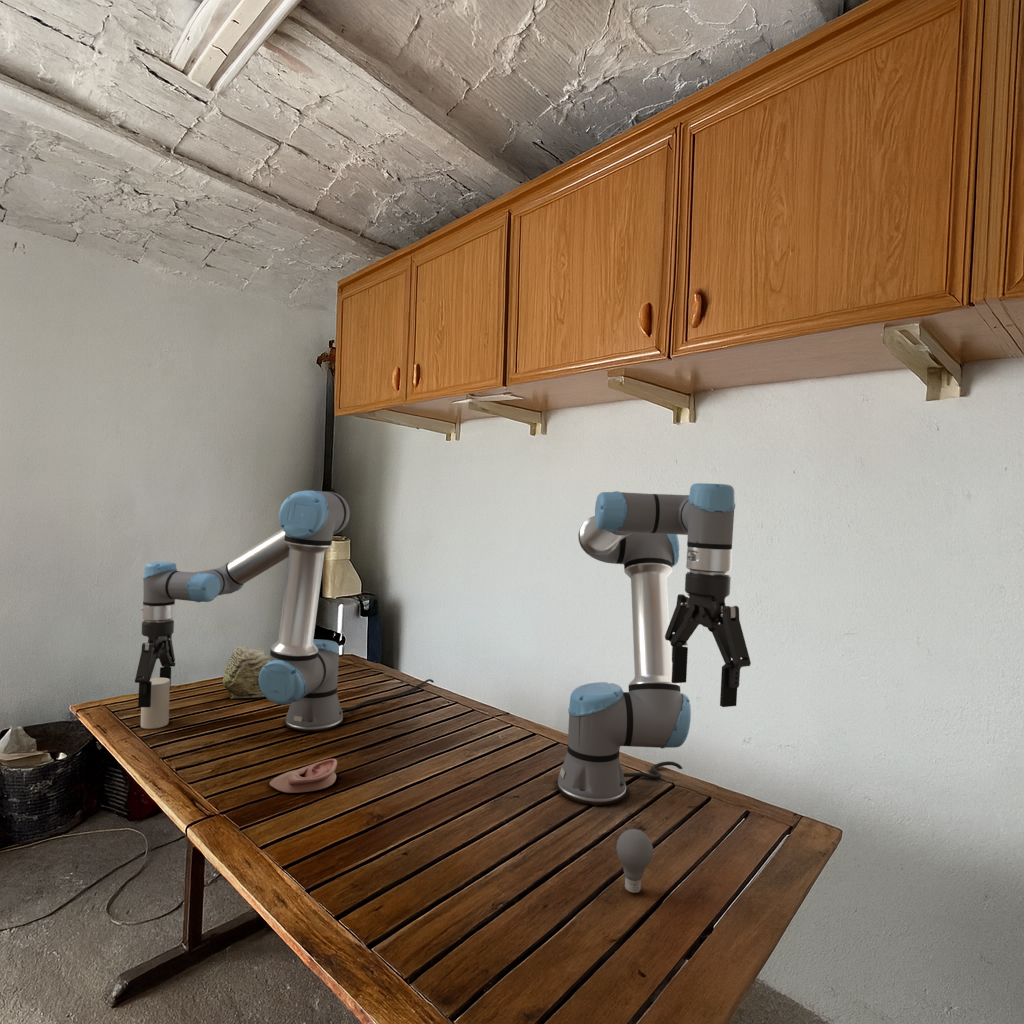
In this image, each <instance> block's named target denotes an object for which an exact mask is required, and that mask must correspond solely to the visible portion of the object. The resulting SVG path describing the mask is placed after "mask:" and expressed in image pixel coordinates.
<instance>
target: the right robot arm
mask: <svg viewBox="0 0 1024 1024" xmlns="http://www.w3.org/2000/svg"><path fill="white" fill-rule="evenodd" d="M735 502H736V501H735V489H734V487H733V485H730V484H726V483H703V482H701V483H700V482H699V483H697V482H696V483H693V484H692V485H691V486H690V488H689V494H670V493H669V494H666V493H643V492H641V493H640V492H623V491H618V490H615V491H603V492H600V493H599V494H598V495H597V496H596V500H595V504H594V505H595V506H594V515H593V516H591V517H589V518H587V519H585V521H583V523H582V525H581V526H580V528H579V531H578V534H577V536H578V538H577V539H578V543H579V545H580V548H581V549H582V551H584V553H585V554H586V555H588V556H589V557H590V558H592V559H594V560H596V561H599V562H602V563H607V564H611V565H612V564H614V565H623V569H624V570H623V571H624V574H625V575H626V576H627V577H628V578H629V579H630V589H631V592H630V593H631V613H632V614H631V616H632V617H631V619H632V640H633V641H632V642H633V662H634V663H633V667H634V669H633V670H634V678H633V679H632V680H631V681H630V682H629V683H628V691H624V690H623V688H622V686H620V685H619V684H616V683H613V682H611V683H610V682H601V681H599V682H591V683H590V682H589V683H585V684H581V685H580V686H577V687H576V688H574V689H573V690H572V692H571V693H570V696H569V704H568V709H567V711H568V729H567V730H568V731H567V750H566V754H565V758H564V761H563V763H562V765H561V768H560V771H559V774H558V777H557V790H558V792H559V793H560V794H561V795H562V796H564V797H565V798H566V799H568V800H571V801H573V802H576V803H579V804H582V805H588V806H589V805H590V806H608V805H609V806H610V805H613V804H617V803H619V802H622V800H624V798H625V797H626V795H627V784H626V778H636V777H639V778H640V777H643V778H647V779H652V780H660V779H661V777H662V774H661V773H660V771H658V770H657V769H658V768H662V767H664V766H673V767H676V768H677V769H679V770H683V769H684V768H683V767H682V765H681V764H679V763H678V762H675V761H667V760H666V761H661V762H658V763H655V764H653V765H652V766H651V767H650V770H651V772H652V773H653V774H650V773H646V772H624V771H623V768H622V767H623V766H622V764H621V759H620V748H621V747H631V748H632V747H633V748H634V747H635V748H659V749H662V750H663V749H665V748H667V749H670V748H671V749H673V748H674V749H675V748H679V747H681V746H683V745H684V743H685V742H686V740H687V738H688V735H689V732H690V727H691V721H692V720H691V719H692V706H691V702H690V697H689V696H688V695H687V694H685V693H682V692H681V685H680V684H683V683H685V684H686V683H687V675H688V673H687V672H688V655H689V654H688V653H689V647H688V645H689V644H688V640H690V638H691V636H692V635H693V634H694V632H695V631H696V630H697V628H698V627H699V625H701V626H702V627H704V628H707V630H708V631H709V632H710V633H711V634H712V636H713V638H714V641H715V643H716V646H717V648H718V650H719V652H720V655H721V657H722V660H723V662H724V664H723V665H722V666H721V676H720V677H721V678H720V697H719V706H720V707H722V708H729V707H737V703H738V700H737V699H738V688H739V686H740V677H741V668H745V667H750V666H751V665H752V662H751V658H750V654H749V651H748V650H749V649H748V647H747V644H746V640H745V636H744V632H743V629H742V628H743V627H742V624H741V621H740V607H739V606H738V605H726V598H727V597H729V596H730V595H731V576H730V574H728V573H731V571H732V566H733V565H732V563H733V538H734V520H735V509H736V503H735ZM678 535H680V536H681V535H683V536H687V539H686V541H687V542H686V546H687V549H686V565H685V568H686V569H687V570H689V571H687V572H686V573H685V576H684V577H685V578H684V580H685V581H684V592H685V593H678V594H677V597H676V605H675V608H674V611H673V613H672V616H671V619H670V610H669V594H668V581H667V578H668V577H669V576H670V575H671V574H672V573H673V567H675V566H677V564H678V563H679V560H680V552H679V551H680V540H679V536H678Z"/></svg>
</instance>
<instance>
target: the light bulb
mask: <svg viewBox="0 0 1024 1024" xmlns="http://www.w3.org/2000/svg"><path fill="white" fill-rule="evenodd" d="M615 849H616V854H617V857H618V859H619V861H620V863H621V865H622V867H623V873H624V874H623V875H624V876H625V878H624V888H625V890H627V891H628V892H630V893H634V894H635V893H639V892H640V891H641V889H642V887H641V886H642V879H643V877H644V875H645V871H646V868H647V867H648V866H649V864H650V863H651V861H652V859H653V855H654V847H653V843H652V841H651V838H649V836H648V835H647V834H646V833H645V832H643V831H642V830H641V829H636V828H629V829H627V830H625V831H623V832H622V833H621V834H620V835H619V837H618V839H617V841H616V847H615Z"/></svg>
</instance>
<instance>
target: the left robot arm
mask: <svg viewBox="0 0 1024 1024" xmlns="http://www.w3.org/2000/svg"><path fill="white" fill-rule="evenodd" d="M350 515H351V511H350V507H349V505H348V503H347V501H346V499H345V498H344V497H343V496H341V494H338V493H336V492H334V491H325V490H324V491H320V490H313V489H312V490H309V489H306V490H301V491H296V492H294V493H291V494H290V495H289V496H287V498H285V499H284V501H283V502H282V504H281V505H280V508H279V511H278V522H279V525H280V527H281V529H280V530H278V531H276V532H275V533H273V534H272V535H270V536H268V537H267V538H265V539H263V540H262V541H260V542H258V543H257V544H255V545H254V546H252V547H250V548H249V549H247V550H245V551H244V552H242V553H240V554H239V555H237V556H236V557H234V558H232V559H231V560H229V561H228V562H226V563H224V564H223V565H221V566H220V567H218V568H213V569H211V568H210V569H207V570H206V569H205V570H199V571H180V570H178V568H177V564H176V563H175V562H171V561H152V562H148V563H146V564H145V566H144V572H143V578H142V580H143V583H142V585H143V588H142V589H143V591H142V592H143V594H142V595H143V599H142V606H141V608H140V610H141V611H142V620H143V621H142V622H141V635H142V636H143V637H147V638H148V639H147V642H142V643H141V650H140V651H141V652H140V655H139V656H140V657H139V661H138V665H137V670H136V674H135V678H134V683H136V684H137V683H138V700H137V704H138V705H137V707H138V708H141V707H150V706H151V685H152V681H150V679H151V678H152V675H153V672H154V669H155V667H156V663H157V660H158V659H159V662H160V665H161V667H160V668H159V678H168V679H170V691H171V689H172V687H171V686H172V668H173V667H176V657H175V652H174V646H173V634H174V631H175V630H174V629H175V621H174V618H175V614H176V613H175V611H176V610H175V609H176V600H179V601H189V602H196V603H209V602H213V601H214V600H215V599H216V598H217V597H218V596H222V595H229V594H230V595H231V594H233V593H235V592H238V591H239V590H241V589H242V588H243V586H244V585H245V584H246V583H248V582H249V581H251V580H252V579H254V578H256V577H257V576H259V575H261V574H262V573H264V572H266V571H268V570H269V569H270V568H272V567H274V566H276V565H278V564H280V563H281V562H283V561H285V560H286V559H287V567H286V573H285V583H284V591H283V599H282V606H281V614H280V622H279V630H278V639H277V641H276V642H274V643H273V644H272V645H271V646H270V651H269V658H270V659H269V662H268V663H267V664H266V665H265V666H264V667H263V668H262V669H261V671H260V674H259V686H260V689H261V691H262V693H263V694H264V695H265V699H267V700H268V701H270V702H271V703H273V704H275V705H281V706H286V705H289V708H288V711H287V713H286V715H285V726H286V728H287V729H289V730H291V731H294V732H295V731H296V732H301V733H316V732H325V731H329V730H332V729H335V728H337V727H339V726H340V725H342V723H343V722H344V714H343V711H351V710H355V709H357V708H360V707H361V706H363V705H365V704H368V703H371V702H376V701H381V700H382V701H383V700H387V699H390V698H391V699H392V698H395V697H398V696H402V695H405V694H409V693H410V692H413V691H414V690H416V689H417V688H419V687H421V686H423V685H425V684H426V683H428V682H430V683H435V680H433V679H432V678H428V679H425V680H424V681H423V682H420V683H419V684H417V685H415V686H413V687H412V688H409V689H407V690H404V691H401V692H398V693H394V694H390V695H386V696H380V697H375V698H374V697H373V698H371V699H367V700H363V701H361V702H360V703H358V704H356V705H354V706H350V707H342V706H341V702H340V699H339V695H338V682H339V681H338V680H339V662H340V661H339V660H340V650H339V649H340V645H339V643H338V642H337V641H335V640H330V639H316V638H314V637H315V629H316V623H317V614H318V607H319V598H320V592H321V584H322V583H321V582H322V576H323V575H322V574H323V567H324V560H325V553H326V551H327V550H328V549H330V548H331V547H332V543H333V537H334V535H336V534H337V533H340V532H342V530H344V529H345V528H346V526H347V524H348V522H349V521H350Z"/></svg>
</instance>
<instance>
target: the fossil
mask: <svg viewBox="0 0 1024 1024" xmlns="http://www.w3.org/2000/svg"><path fill="white" fill-rule="evenodd" d="M269 659H270V655H268V654H267V653H266V652H265V650H264V649H263V648H260V647H258V648H251V647H247V646H246V647H245V646H238V647H237V648H236V649H235V650H233V651H232V653H231V656H230V657H229V659H228V660H227V663H226V666H225V668H224V671H223V675H222V676H223V677H222V685H223V687H224V688H225V690H226V691H228V693H229V698H230V699H250V698H264V697H265V698H266V696H265V695H264V694H263V693H262V691H261V689H260V686H259V674H260V671H261V669H262V668H263V667H264V666H265V665H266V664H267V663H268V662H269Z"/></svg>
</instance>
